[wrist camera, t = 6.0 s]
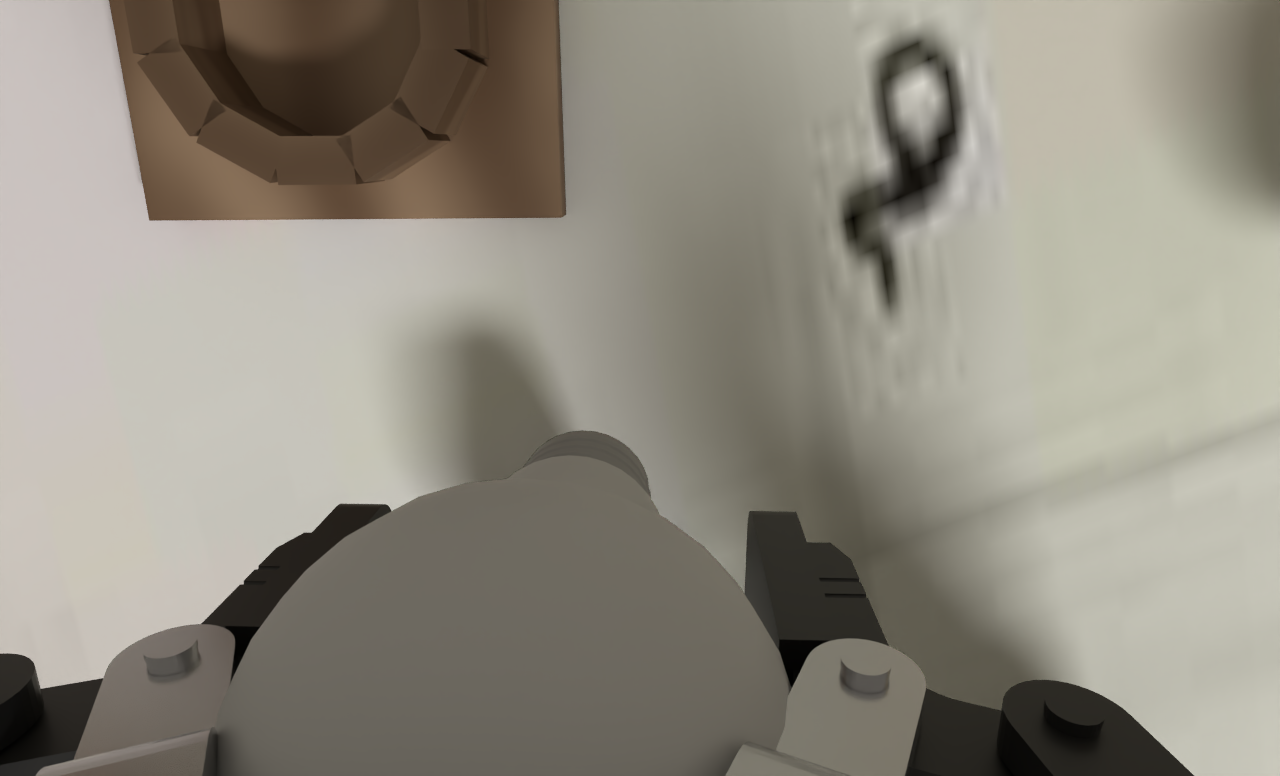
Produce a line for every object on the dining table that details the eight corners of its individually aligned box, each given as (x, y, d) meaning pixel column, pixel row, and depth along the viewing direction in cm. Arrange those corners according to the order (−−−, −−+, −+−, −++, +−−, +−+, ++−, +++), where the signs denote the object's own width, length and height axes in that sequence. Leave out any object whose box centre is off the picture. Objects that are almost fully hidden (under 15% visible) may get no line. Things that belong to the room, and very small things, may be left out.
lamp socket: (551, -196, 28) (531, -259, 23) (565, 214, 32) (550, 224, 28) (101, -186, 28) (0, -246, 24) (172, 217, 32) (96, 227, 28)
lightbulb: (402, 363, 16) (-141, 796, 5) (707, 298, 15) (796, 637, 5) (486, 628, 17) (203, 1364, 7) (763, 579, 17) (922, 1304, 6)
